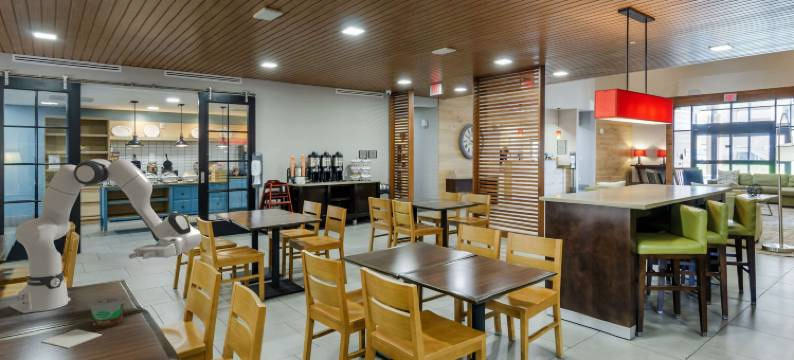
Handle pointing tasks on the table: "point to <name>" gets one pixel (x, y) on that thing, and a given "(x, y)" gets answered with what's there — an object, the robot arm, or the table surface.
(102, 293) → the table surface
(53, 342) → the cream flat rectangular plate
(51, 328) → the table surface
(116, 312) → the food container
